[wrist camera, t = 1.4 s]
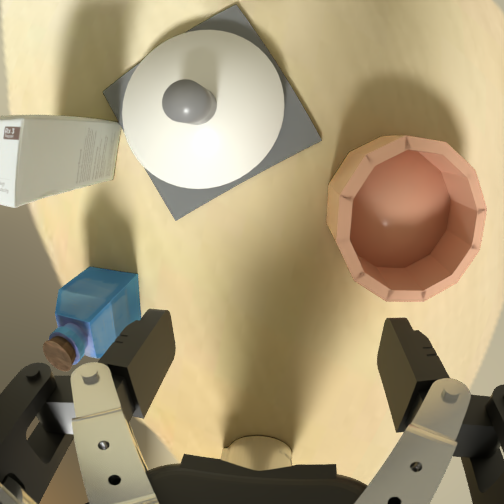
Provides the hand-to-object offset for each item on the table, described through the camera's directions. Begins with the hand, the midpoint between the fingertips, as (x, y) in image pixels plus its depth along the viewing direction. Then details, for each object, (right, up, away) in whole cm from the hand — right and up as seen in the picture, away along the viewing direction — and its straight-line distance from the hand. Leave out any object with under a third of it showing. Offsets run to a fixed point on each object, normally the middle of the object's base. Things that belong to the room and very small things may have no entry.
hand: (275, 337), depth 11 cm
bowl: (+12, +7, +16) cm, 22 cm away
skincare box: (-17, +14, +17) cm, 28 cm away
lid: (-5, +16, +15) cm, 22 cm away
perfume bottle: (-16, -2, +23) cm, 28 cm away
